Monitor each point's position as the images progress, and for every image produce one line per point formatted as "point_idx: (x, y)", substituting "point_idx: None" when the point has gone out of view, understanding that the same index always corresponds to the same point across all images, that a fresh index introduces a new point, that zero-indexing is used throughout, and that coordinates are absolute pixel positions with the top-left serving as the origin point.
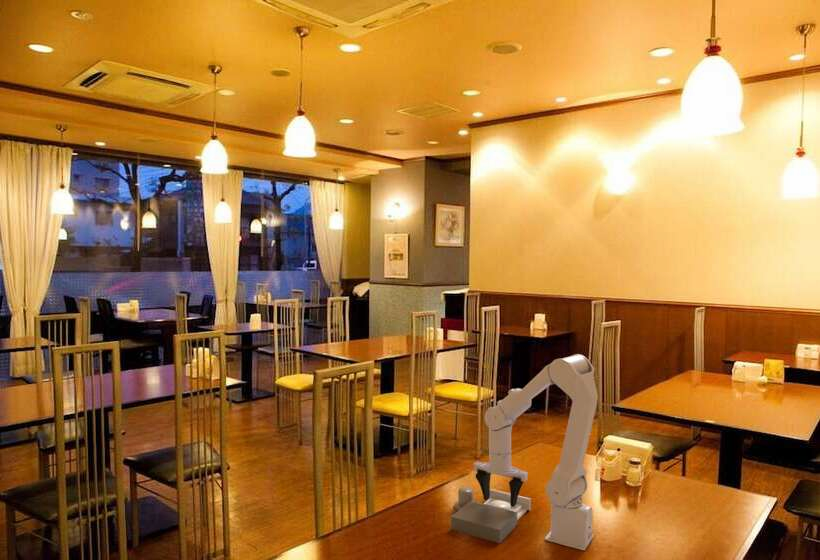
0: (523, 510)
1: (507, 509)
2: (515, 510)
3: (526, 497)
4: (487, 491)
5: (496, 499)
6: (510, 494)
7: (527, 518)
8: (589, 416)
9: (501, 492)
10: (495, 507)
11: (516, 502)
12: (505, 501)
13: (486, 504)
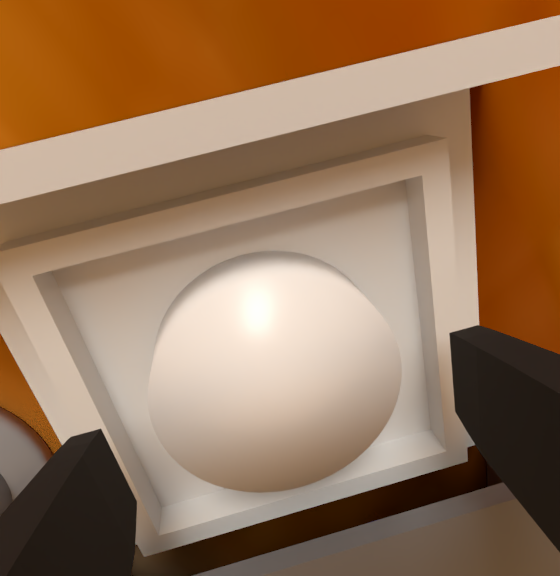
0: (458, 165)
1: (394, 393)
2: (443, 309)
3: (531, 29)
4: (89, 563)
5: (86, 239)
6: (255, 127)
7: (524, 236)
8: None
9: (87, 176)
10: (353, 558)
11: (497, 334)
12: (216, 200)
13: (100, 401)
